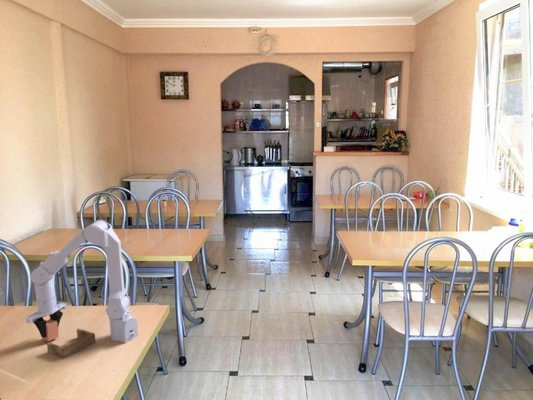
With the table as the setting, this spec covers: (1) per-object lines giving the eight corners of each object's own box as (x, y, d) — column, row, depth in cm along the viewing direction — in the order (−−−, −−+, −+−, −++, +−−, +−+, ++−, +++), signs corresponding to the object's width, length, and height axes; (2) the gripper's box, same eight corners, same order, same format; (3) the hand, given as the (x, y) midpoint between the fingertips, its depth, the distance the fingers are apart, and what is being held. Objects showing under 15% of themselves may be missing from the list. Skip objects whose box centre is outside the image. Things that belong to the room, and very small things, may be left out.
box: (95, 343, 161) (94, 333, 160) (64, 360, 150) (63, 349, 150) (79, 338, 165) (78, 328, 165) (48, 354, 155) (46, 343, 154)
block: (58, 336, 164) (57, 321, 163) (48, 341, 161) (47, 325, 160) (51, 334, 166) (50, 318, 165) (41, 338, 163) (40, 323, 162)
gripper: (56, 290, 169) (60, 323, 172) (19, 303, 157) (23, 340, 159) (68, 293, 166) (72, 327, 168) (31, 307, 154) (36, 344, 156)
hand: (49, 334), depth 164 cm, fingers closed on block, 4 cm apart
